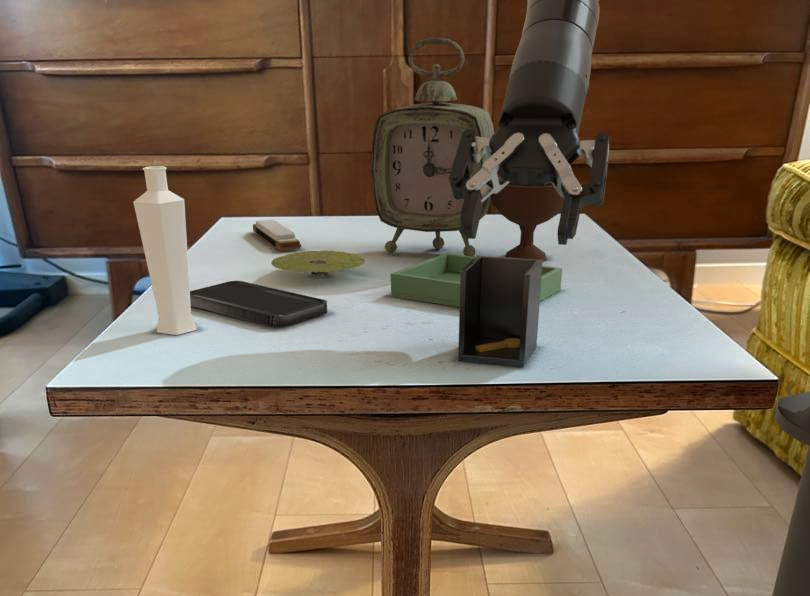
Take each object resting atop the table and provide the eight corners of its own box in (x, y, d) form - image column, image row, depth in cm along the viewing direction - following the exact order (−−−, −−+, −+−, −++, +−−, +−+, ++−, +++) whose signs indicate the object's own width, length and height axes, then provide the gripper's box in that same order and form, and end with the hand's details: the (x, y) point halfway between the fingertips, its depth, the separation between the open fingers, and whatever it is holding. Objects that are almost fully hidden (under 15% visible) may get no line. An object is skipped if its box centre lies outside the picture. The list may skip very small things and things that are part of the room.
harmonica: (301, 250, 119) (300, 235, 118) (279, 252, 118) (278, 236, 117) (273, 231, 131) (272, 217, 130) (253, 232, 130) (251, 218, 129)
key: (515, 341, 82) (516, 336, 82) (526, 346, 80) (527, 342, 80) (472, 348, 80) (472, 344, 80) (482, 353, 79) (483, 349, 78)
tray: (560, 290, 100) (562, 268, 99) (512, 316, 91) (514, 291, 90) (445, 273, 107) (445, 252, 106) (390, 296, 98) (390, 273, 97)
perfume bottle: (146, 327, 88) (121, 166, 81) (189, 320, 90) (168, 163, 83) (160, 338, 85) (135, 172, 78) (204, 331, 87) (183, 168, 79)
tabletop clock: (373, 256, 116) (368, 38, 103) (393, 242, 123) (391, 37, 111) (480, 262, 112) (488, 37, 100) (494, 248, 120) (503, 37, 107)
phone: (277, 317, 87) (181, 293, 95) (278, 329, 87) (182, 303, 95) (332, 301, 92) (236, 279, 100) (332, 311, 92) (237, 289, 101)
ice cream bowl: (467, 259, 114) (471, 132, 106) (516, 245, 121) (523, 126, 114) (535, 272, 108) (545, 138, 100) (583, 256, 115) (595, 130, 108)
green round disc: (373, 267, 110) (372, 251, 109) (355, 289, 101) (355, 272, 100) (286, 264, 112) (285, 249, 111) (260, 286, 102) (259, 269, 101)
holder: (536, 347, 82) (542, 259, 78) (523, 367, 77) (530, 275, 73) (474, 341, 84) (477, 255, 80) (458, 361, 79) (460, 270, 75)
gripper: (468, 57, 82) (432, 207, 78) (623, 57, 78) (593, 215, 74) (479, 115, 89) (447, 255, 85) (622, 118, 85) (594, 265, 81)
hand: (515, 236), depth 80 cm, fingers open, 8 cm apart
